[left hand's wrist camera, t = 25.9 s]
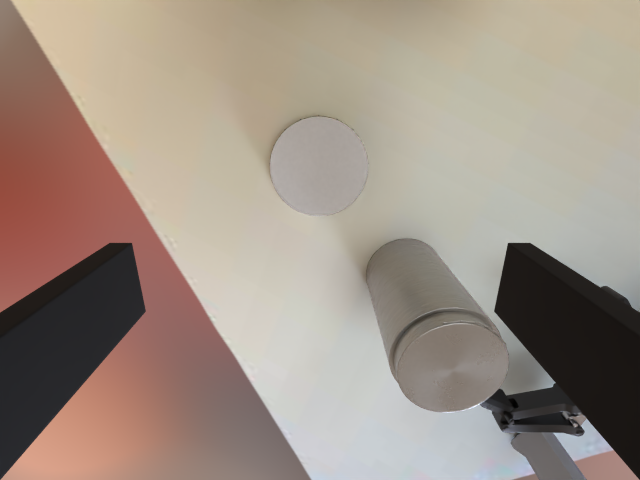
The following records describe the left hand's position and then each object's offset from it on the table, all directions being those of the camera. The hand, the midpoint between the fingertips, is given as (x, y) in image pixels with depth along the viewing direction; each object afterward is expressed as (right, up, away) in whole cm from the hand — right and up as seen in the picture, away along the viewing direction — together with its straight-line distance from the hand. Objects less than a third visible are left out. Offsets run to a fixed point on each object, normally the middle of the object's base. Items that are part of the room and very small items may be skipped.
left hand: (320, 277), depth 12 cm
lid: (0, +9, +25) cm, 26 cm away
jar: (+10, -3, +31) cm, 32 cm away
